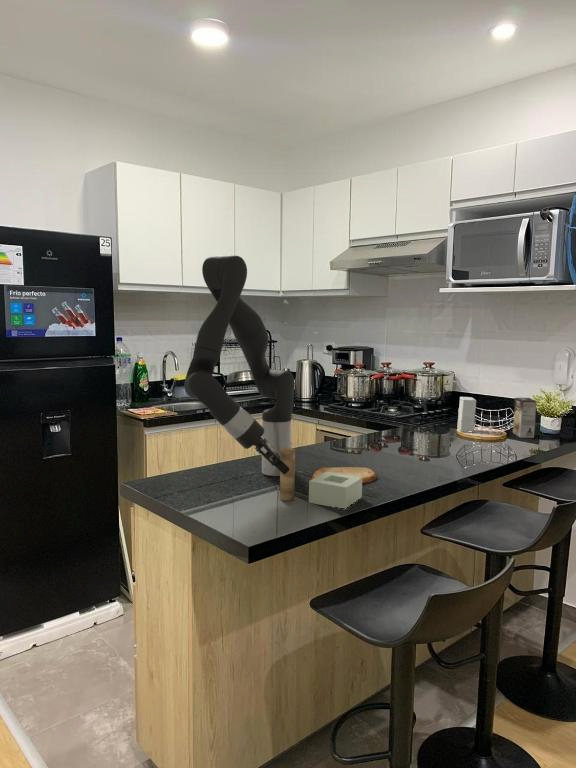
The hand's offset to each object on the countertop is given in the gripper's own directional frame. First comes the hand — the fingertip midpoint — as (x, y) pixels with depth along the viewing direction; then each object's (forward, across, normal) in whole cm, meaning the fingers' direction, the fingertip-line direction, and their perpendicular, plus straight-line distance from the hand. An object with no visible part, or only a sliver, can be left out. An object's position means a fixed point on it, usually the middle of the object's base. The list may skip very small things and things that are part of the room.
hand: (284, 467), depth 159 cm
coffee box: (+90, +71, -77) cm, 138 cm away
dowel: (+7, 0, +6) cm, 9 cm away
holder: (+16, -3, -4) cm, 17 cm away
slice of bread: (+22, +17, -9) cm, 29 cm away
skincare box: (+75, +84, -63) cm, 129 cm away
